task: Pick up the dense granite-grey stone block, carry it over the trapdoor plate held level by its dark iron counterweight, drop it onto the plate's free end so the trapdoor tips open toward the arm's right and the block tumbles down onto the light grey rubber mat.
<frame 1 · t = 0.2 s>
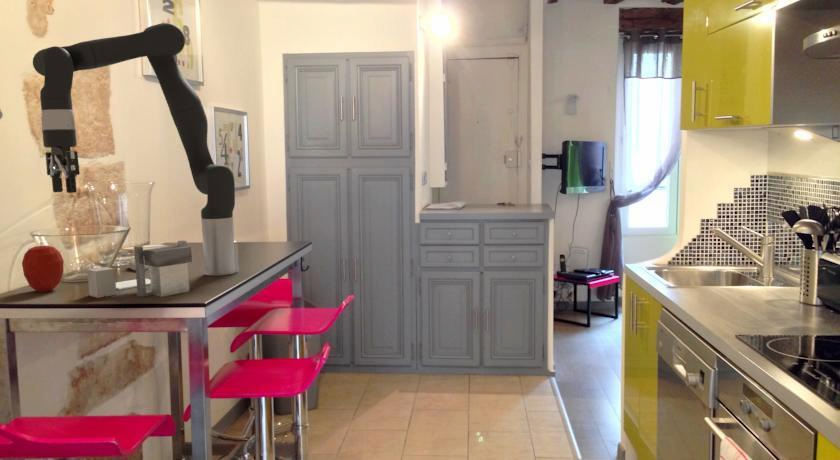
hand: (64, 192, 179), 28 cm above the table, fingers open, 8 cm apart
trapdoor: (156, 254, 189), point 10 cm above the table, hinge at 0.0°
stone block: (102, 295, 186), on the table
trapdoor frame: (164, 291, 188), on the table
decorative stone: (139, 270, 229), on the table
apple: (45, 291, 194), on the table
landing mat: (132, 284, 200), on the table
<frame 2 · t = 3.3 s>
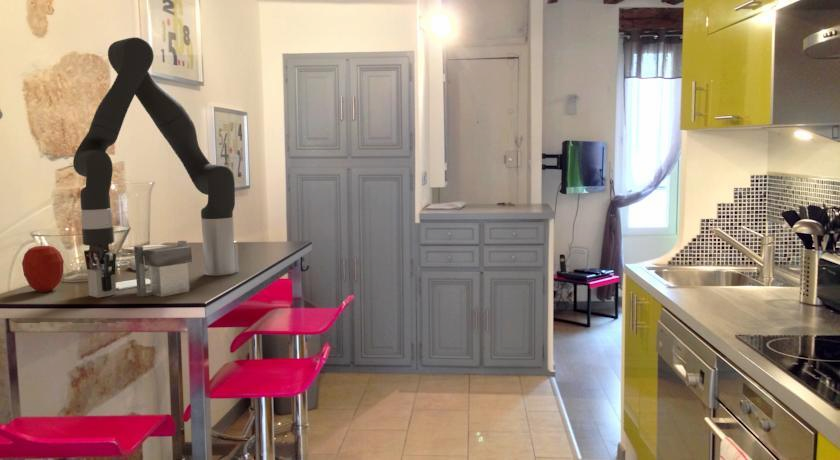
hand: (102, 289, 186), 1 cm above the table, fingers closed on stone block, 5 cm apart
stone block: (102, 294, 186), on the table, touching gripper
everything else where it was.
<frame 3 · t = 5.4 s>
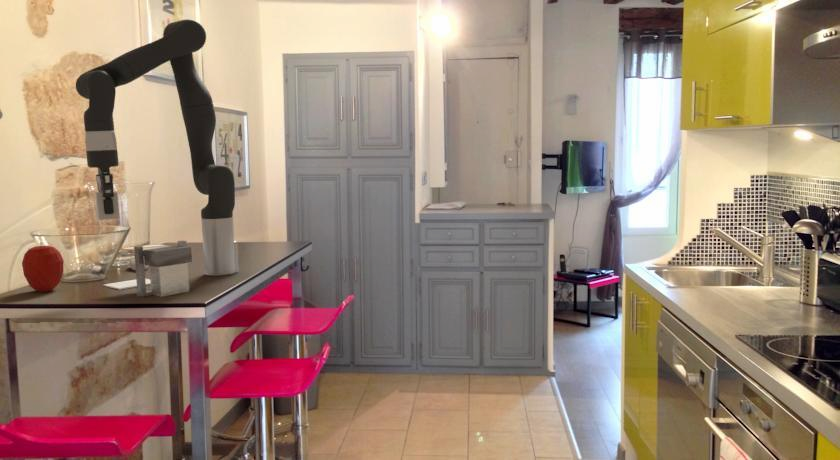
hand: (108, 212, 186), 22 cm above the table, fingers closed on stone block, 5 cm apart
stone block: (108, 218, 186), point 20 cm above the table, touching gripper
everything else where it was.
when the fingers open (16 cm above the table, at t = 7.5 s): stone block drops 12 cm and tips over, resting on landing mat, trapdoor.
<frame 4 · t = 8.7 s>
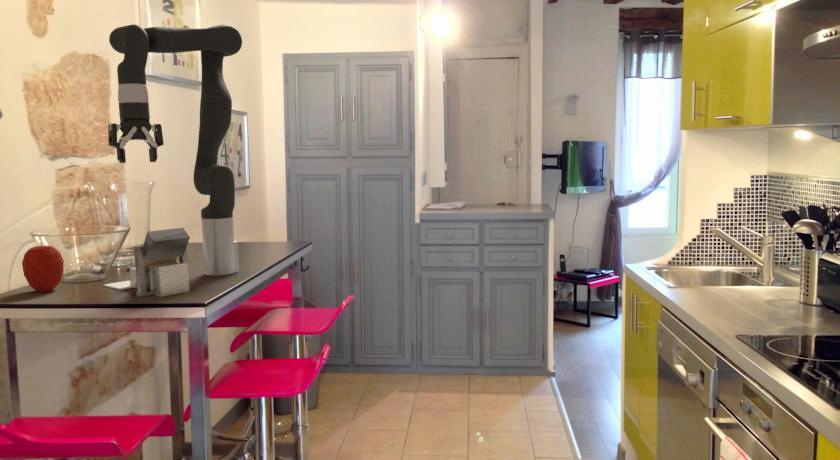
hand: (138, 162, 190), 35 cm above the table, fingers open, 8 cm apart
trapdoor: (160, 261, 188), point 8 cm above the table, hinge at -54.2°, touching stone block
stone block: (150, 279, 193), point 2 cm above the table, tilted 86°, touching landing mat, trapdoor
everything else where it was.
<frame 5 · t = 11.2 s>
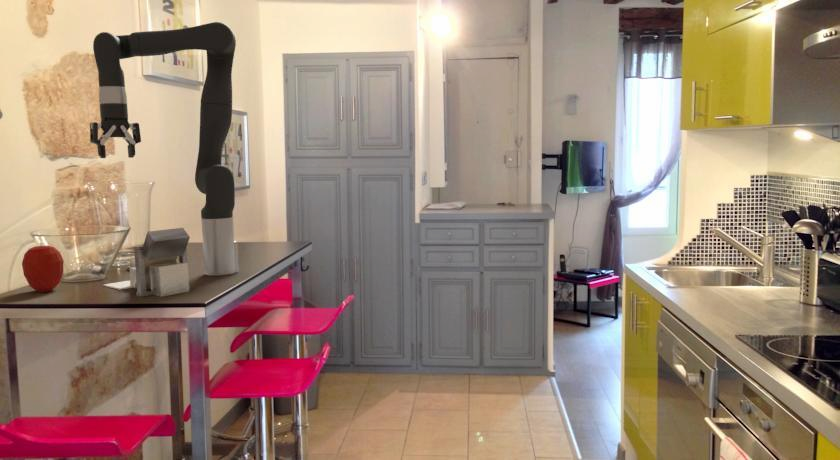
hand: (117, 157, 209), 36 cm above the table, fingers open, 8 cm apart
nothing on the table moved.
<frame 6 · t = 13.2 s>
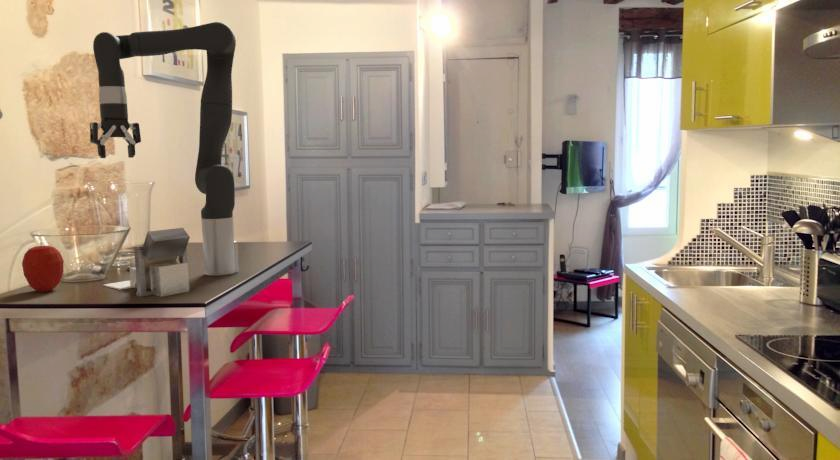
hand: (117, 157, 209), 36 cm above the table, fingers open, 8 cm apart
nothing on the table moved.
at the end: stone block point 2.5 cm above the table; stone block inside the target area (16.1 cm from its centre), point 2.5 cm above the table; the gripper is holding nothing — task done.
